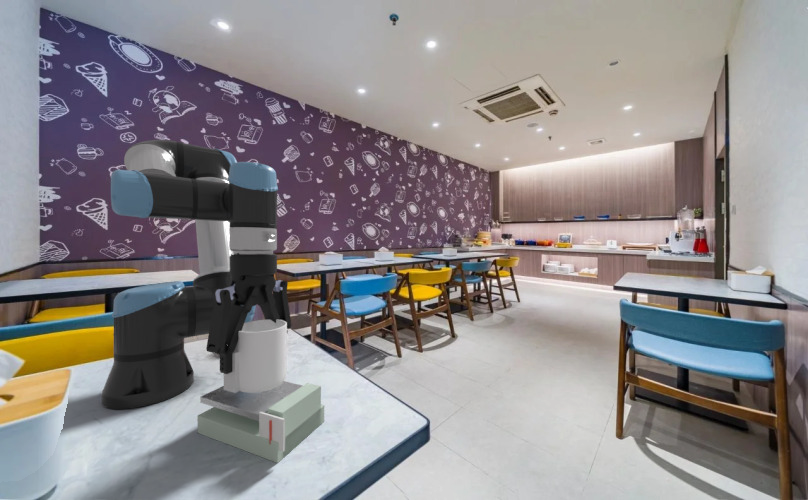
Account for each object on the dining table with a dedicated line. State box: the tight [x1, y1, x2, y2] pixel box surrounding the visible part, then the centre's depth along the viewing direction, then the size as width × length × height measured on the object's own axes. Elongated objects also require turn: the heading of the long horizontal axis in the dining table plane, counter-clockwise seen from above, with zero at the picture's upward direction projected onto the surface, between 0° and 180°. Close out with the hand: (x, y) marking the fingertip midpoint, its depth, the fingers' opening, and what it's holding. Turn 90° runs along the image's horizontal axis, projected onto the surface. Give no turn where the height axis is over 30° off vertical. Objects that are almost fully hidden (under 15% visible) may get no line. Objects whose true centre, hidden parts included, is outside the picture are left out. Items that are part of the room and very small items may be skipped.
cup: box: [234, 318, 288, 393], centre depth 53 cm, size 8×12×10 cm
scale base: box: [197, 382, 325, 464], centre depth 51 cm, size 19×11×7 cm, turn 68°
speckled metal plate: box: [199, 380, 303, 421], centre depth 52 cm, size 14×10×3 cm
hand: (254, 378), depth 52 cm, fingers closed on cup, 8 cm apart
